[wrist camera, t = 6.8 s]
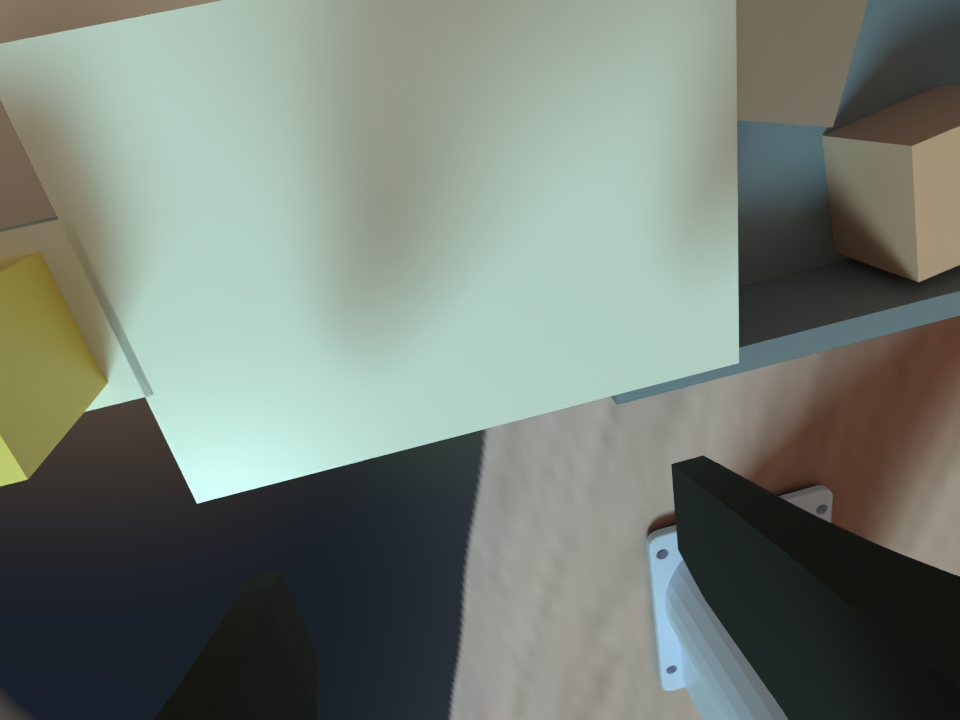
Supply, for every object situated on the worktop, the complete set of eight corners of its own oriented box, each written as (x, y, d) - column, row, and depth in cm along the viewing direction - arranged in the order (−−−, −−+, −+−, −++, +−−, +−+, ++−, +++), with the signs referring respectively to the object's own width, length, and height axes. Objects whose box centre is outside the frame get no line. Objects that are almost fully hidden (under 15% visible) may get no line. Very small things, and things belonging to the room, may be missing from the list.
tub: (990, 237, 23) (1127, 272, 19) (568, 343, 21) (617, 404, 17) (1061, -178, 17) (1273, -256, 13) (510, -70, 16) (560, -120, 12)
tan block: (943, 206, 21) (1046, 227, 18) (835, 252, 21) (918, 282, 18) (940, 85, 19) (1054, 86, 16) (821, 135, 19) (911, 146, 16)
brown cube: (753, 119, 19) (833, 127, 16) (628, 110, 18) (685, 116, 15) (789, -36, 17) (885, -63, 14) (653, -53, 16) (723, -85, 13)
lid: (722, 351, 17) (834, 433, 13) (100, 510, 16) (11, 657, 12) (713, -91, 13) (876, -169, 9) (-149, 79, 11) (-423, 79, 7)
